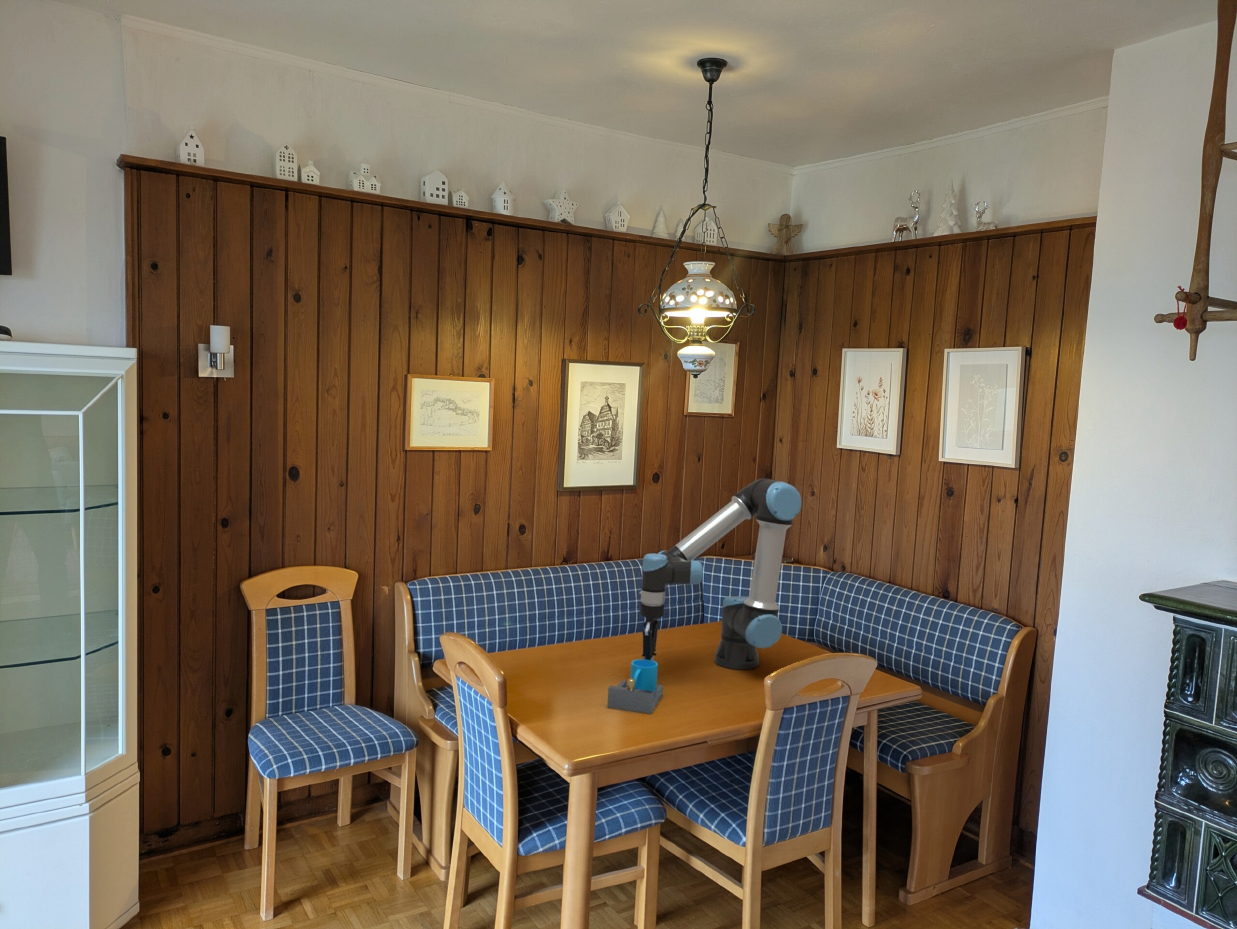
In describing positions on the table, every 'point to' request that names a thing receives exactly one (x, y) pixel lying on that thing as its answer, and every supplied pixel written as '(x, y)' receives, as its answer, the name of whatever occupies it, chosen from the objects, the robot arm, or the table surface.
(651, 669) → the mug
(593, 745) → the table surface
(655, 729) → the table surface
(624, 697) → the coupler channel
